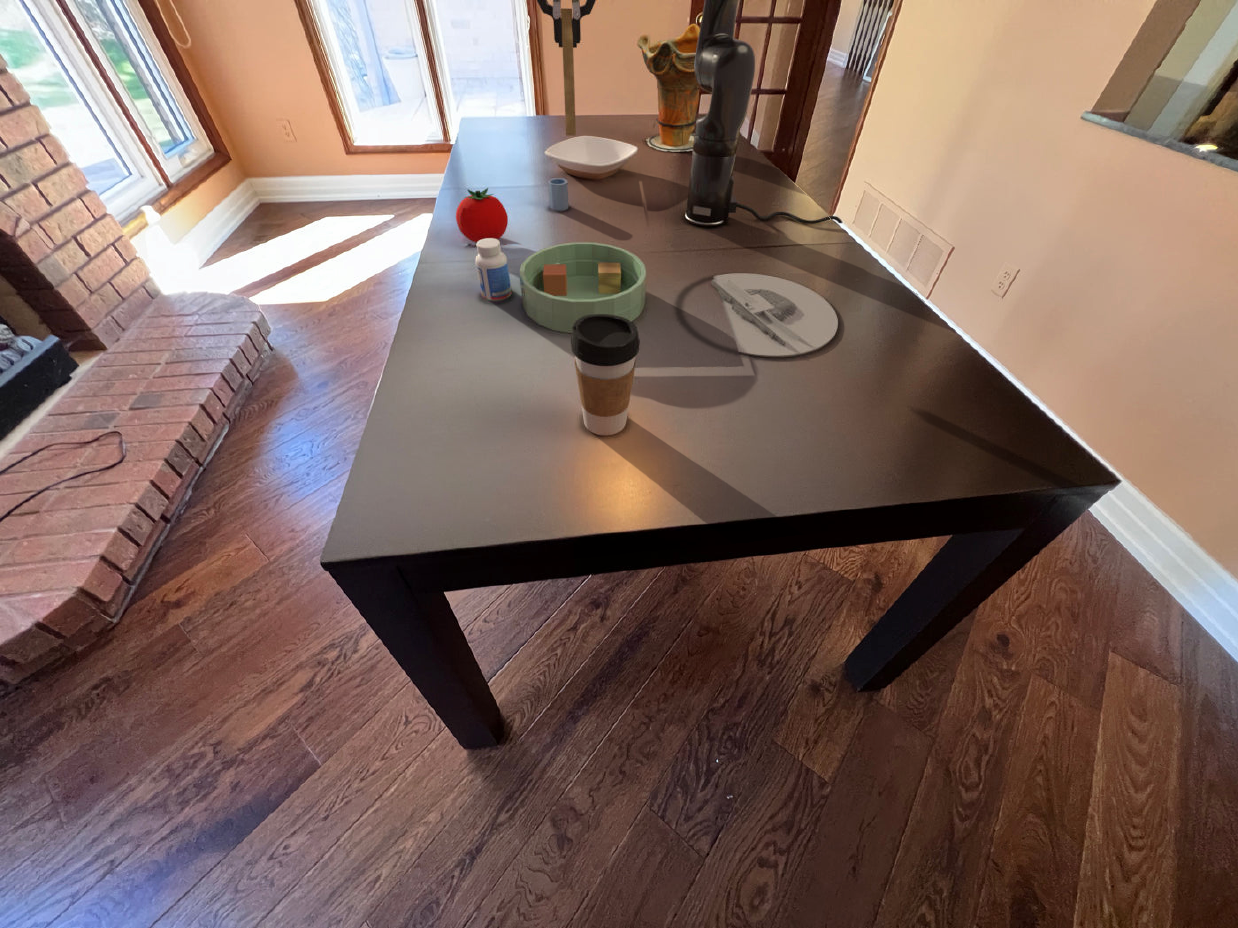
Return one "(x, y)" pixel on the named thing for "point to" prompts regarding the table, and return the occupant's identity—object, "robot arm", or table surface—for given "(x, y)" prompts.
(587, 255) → the stir bowl
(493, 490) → the table surface
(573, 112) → the stick
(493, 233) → the tomato
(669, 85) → the decorative vase
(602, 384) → the coffee cup
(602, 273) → the block
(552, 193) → the stick holder
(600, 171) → the bowl
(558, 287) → the block
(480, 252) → the pill bottle
